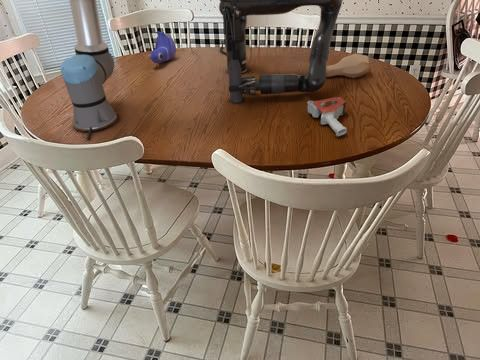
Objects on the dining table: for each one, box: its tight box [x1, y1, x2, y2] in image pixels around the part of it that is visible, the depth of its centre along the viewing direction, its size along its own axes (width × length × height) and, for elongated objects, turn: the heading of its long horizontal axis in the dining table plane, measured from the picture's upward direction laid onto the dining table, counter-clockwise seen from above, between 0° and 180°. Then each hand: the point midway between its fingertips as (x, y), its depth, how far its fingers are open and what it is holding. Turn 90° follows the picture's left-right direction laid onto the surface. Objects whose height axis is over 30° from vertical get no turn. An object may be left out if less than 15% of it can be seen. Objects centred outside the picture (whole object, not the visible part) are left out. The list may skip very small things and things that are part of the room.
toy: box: [149, 30, 177, 68], centre depth 183 cm, size 10×17×25 cm
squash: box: [326, 52, 370, 79], centre depth 156 cm, size 11×20×9 cm, turn 92°
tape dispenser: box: [307, 96, 348, 137], centre depth 123 cm, size 18×5×20 cm
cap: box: [228, 50, 232, 59], centre depth 132 cm, size 4×4×2 cm
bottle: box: [228, 59, 244, 104], centre depth 138 cm, size 5×5×18 cm
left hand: (233, 57), depth 133 cm, fingers closed on cap, 4 cm apart
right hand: (229, 86), depth 140 cm, fingers closed on bottle, 5 cm apart
